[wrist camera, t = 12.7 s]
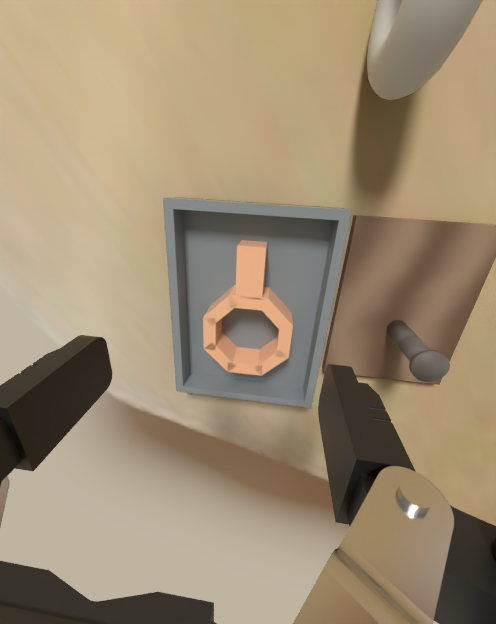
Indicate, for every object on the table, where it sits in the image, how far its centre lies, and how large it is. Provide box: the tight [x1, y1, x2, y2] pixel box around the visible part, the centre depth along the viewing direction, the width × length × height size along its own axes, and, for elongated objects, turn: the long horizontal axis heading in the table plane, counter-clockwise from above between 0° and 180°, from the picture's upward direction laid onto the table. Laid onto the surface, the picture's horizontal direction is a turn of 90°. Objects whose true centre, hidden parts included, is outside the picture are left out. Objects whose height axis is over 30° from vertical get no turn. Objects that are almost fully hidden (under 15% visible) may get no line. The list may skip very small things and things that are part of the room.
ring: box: [203, 240, 293, 376], centre depth 26 cm, size 8×13×3 cm, turn 177°
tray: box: [163, 197, 352, 408], centre depth 26 cm, size 15×20×3 cm
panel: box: [323, 215, 496, 385], centre depth 23 cm, size 12×16×8 cm
